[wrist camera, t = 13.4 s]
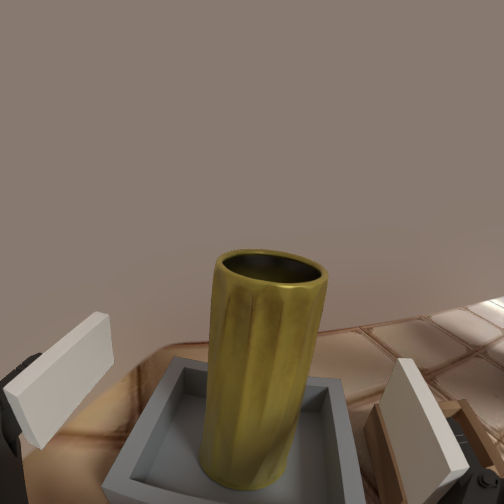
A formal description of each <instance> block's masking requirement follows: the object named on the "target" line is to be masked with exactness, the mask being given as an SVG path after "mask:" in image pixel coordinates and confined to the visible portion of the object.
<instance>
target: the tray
mask: <svg viewBox="0 0 504 504" xmlns="http://www.w3.org/2000/svg"><path fill="white" fill-rule="evenodd" d="M207 376H208V363H206V362H201V361H196V360H191V359H186V358H181V357H176V356H174V357H173V359H172V361H171V363H170V364H169V366H168V368H167V370H166V371H165V373H164V375H163V377H162V378H161V380H160V382H159V384H158V385H157V387H156V389H155V391H154V392H153V394H152V396H151V398H150V399H149V401H148V403H147V405H146V407H145V408H144V410H143V412H142V414H141V415H140V417H139V419H138V421H137V422H136V424H135V426H134V428H133V430H132V431H131V433H130V435H129V437H128V438H127V440H126V442H125V444H124V446H123V447H122V449H121V451H120V453H119V455H118V456H117V458H116V460H115V462H114V464H113V465H112V467H111V469H110V471H109V473H108V475H107V476H106V478H105V480H104V482H103V484H102V485H101V487H102V489H103V491H104V493H105V495H106V497H107V499H108V501H109V503H110V504H366V501H365V495H364V489H363V484H362V478H361V473H360V468H359V462H358V457H357V452H356V447H355V442H354V437H353V433H352V428H351V423H350V419H349V414H348V409H347V405H346V401H345V396H344V392H343V387H342V383H341V379H332V378H319V377H308V379H307V384H306V389H305V393H304V398H303V402H302V406H301V410H300V414H299V419H298V423H297V427H296V431H295V434H294V438H293V442H292V445H291V448H290V451H289V454H288V456H287V466H286V469H285V471H284V473H283V474H282V475H281V477H280V478H279V479H278V480H277V481H276V482H274V483H273V484H271V485H269V486H267V487H265V488H262V489H258V490H252V491H240V490H234V489H230V488H227V487H224V486H222V485H220V484H218V483H217V482H215V481H214V480H212V479H211V478H210V477H209V476H208V475H207V474H206V473H205V471H204V470H203V468H202V466H201V464H200V461H199V449H200V445H201V442H202V437H203V427H204V420H205V412H206V397H207Z"/></svg>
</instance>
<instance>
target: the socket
mask: <svg viewBox="0 0 504 504" xmlns="http://www.w3.org/2000/svg"><path fill="white" fill-rule="evenodd" d="M437 403H438V405H439V407H440V409H441V411H442V413H443V415H444V417H445V418H446V417H452V418H453V419H454V420H455V421H456V422H457V423H459V424H460V426H461V428H462V430H463V432H464V433H465V434H464V435H466V437H467V439H468V443H470V445H471V447H472V449H473V450H474V452H475V454H476V456H477V458H478V460H479V462H480V464H481V466H482V468H488V469H491V470H493V471H495V472H496V473H497V475H498V476H499V478H504V461H503V459H502V458H501V456H500V454H499V452H498V451H497V449H496V447H495V445H494V444H493V442H492V440H491V439H490V437H489V435H488V434H487V432H486V430H485V429H484V427H483V426H482V424H481V422H480V421H479V419H478V418H477V416H476V414H475V413H474V411H473V410H472V408H471V407H470V405H469V404H468V402H467V401H466V399H464V400H454V401H442V402H437ZM364 432H365V436H366V440H367V444H368V448H369V453H370V457H371V461H372V465H373V470H374V474H375V479H376V483H377V488H378V493H379V497H380V502H381V504H408V502H407V498H406V494H405V490H404V486H403V483H402V479H401V475H400V472H399V468H398V465H397V461H396V458H395V455H394V451H393V448H392V444H391V441H390V438H389V435H388V431H387V428H386V425H385V422H384V419H383V416H382V413H381V410H380V407H379V404H374V406H373V409H372V411H371V413H370V415H369V417H368V419H367V422H366V424H365V426H364Z"/></svg>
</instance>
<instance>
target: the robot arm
mask: <svg viewBox="0 0 504 504" xmlns="http://www.w3.org/2000/svg"><path fill="white" fill-rule="evenodd" d="M113 364H114V356H113V348H112V339H111V330H110V320H109V315H108V314H105V313H101V312H97V311H95V312H94V313H93V314H92V315H90V316H89V317H88V318H87V319H85V320H84V321H83V322H81V323H80V324H79V325H78V326H76V327H75V328H74V329H73V330H71V331H70V332H69V333H68V334H67V335H65V336H64V337H63V338H62V339H60V340H59V341H58V342H57V343H56V344H54V345H53V346H52V347H51V348H49V349H48V350H47V351H46V352H45V353H43V354H42V353H38V354H35V355H33V356H30V357H29V358H27V359H26V360H25V361H24V362H23V363H22V365H21V364H20V365H19V366H18V367H16V370H15V369H14V370H13V371H12V372H11V373H9V374H8V375H7V376H6V377H4V378H3V379H2V380H1V381H0V504H29V503H28V498H27V493H26V486H25V480H24V473H23V465H22V457H21V444H20V440H19V437H18V436H19V435H20V433H21V432H23V434H24V436H25V438H26V440H27V441H28V442H29V443H31V444H32V445H34V446H35V447H37V448H39V449H41V450H42V449H43V448H44V447H45V445H46V444H47V443H48V442H49V440H50V439H51V438H52V437H53V435H54V434H55V433H56V432H57V431H58V429H59V428H60V427H61V426H62V424H63V423H64V422H65V421H66V420H67V418H68V417H69V416H70V415H71V413H72V412H73V411H74V410H75V408H76V407H77V406H78V405H79V404H80V403H81V401H82V400H83V399H84V398H85V397H86V395H87V394H88V393H89V392H90V391H91V390H92V388H93V387H94V386H95V385H96V383H97V382H98V381H99V380H100V379H101V378H102V376H103V375H104V374H105V373H106V372H107V371H108V369H109V368H110V367H111V366H112V365H113ZM379 407H380V410H381V413H382V416H383V419H384V422H385V425H386V428H387V431H388V435H389V438H390V441H391V444H392V448H393V451H394V455H395V458H396V461H397V465H398V468H399V472H400V475H401V479H402V483H403V486H404V490H405V494H406V498H407V502H408V504H504V478H499V476H498V475H497V473H496V472H495V471H493V470H491V469H488V468H482V466H481V464H480V462H479V460H478V458H477V456H476V454H475V452H474V450H473V449H472V447H471V445H470V443H468V439H467V437H466V435H464V434H465V433H464V432H463V430H462V428H461V426H460V424H459V423H457V422H456V421H455V420H454V419H453V418H452V417H446V418H445V417H444V415H443V413H442V411H441V409H440V407H439V405H438V403H437V402H436V400H435V398H434V396H433V394H432V393H431V391H430V389H429V387H428V385H427V384H426V382H425V380H424V378H423V377H422V375H421V373H420V371H419V370H418V368H417V366H416V365H415V363H414V361H413V359H410V358H397V361H396V363H395V366H394V369H393V371H392V374H391V376H390V379H389V381H388V383H387V386H386V388H385V391H384V393H383V395H382V397H381V400H380V402H379Z"/></svg>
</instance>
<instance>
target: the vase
mask: <svg viewBox="0 0 504 504" xmlns="http://www.w3.org/2000/svg"><path fill="white" fill-rule="evenodd" d="M327 284H328V272H327V270H326V269H325V268H324V267H323V266H322V265H320V264H319V263H317V262H314V261H312V260H310V259H307V258H305V257H302V256H298V255H294V254H290V253H286V252H281V251H274V250H265V249H240V250H233V251H230V252H227V253H224V254H222V255H221V256H219V257H218V259H217V261H216V264H215V268H214V276H213V286H212V298H211V316H210V333H209V351H208V376H207V397H206V412H205V420H204V427H203V437H202V442H201V445H200V449H199V461H200V464H201V466H202V468H203V470H204V471H205V473H206V474H207V475H208V476H209V477H210V478H211V479H212V480H214V481H215V482H217V483H218V484H220V485H222V486H224V487H227V488H230V489H234V490H240V491H252V490H258V489H262V488H265V487H267V486H269V485H271V484H273V483H274V482H276V481H277V480H278V479H279V478H280V477H281V475H282V474H283V473H284V471H285V469H286V466H287V456H288V454H289V451H290V448H291V445H292V442H293V438H294V434H295V431H296V427H297V423H298V419H299V414H300V410H301V406H302V402H303V398H304V393H305V389H306V384H307V379H308V375H309V370H310V365H311V361H312V357H313V352H314V348H315V343H316V338H317V334H318V329H319V325H320V320H321V316H322V312H323V307H324V302H325V296H326V291H327Z"/></svg>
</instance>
